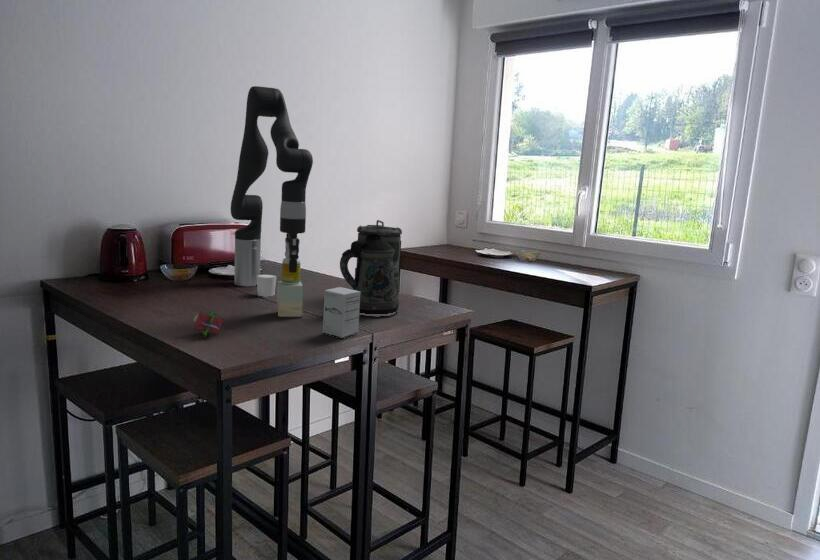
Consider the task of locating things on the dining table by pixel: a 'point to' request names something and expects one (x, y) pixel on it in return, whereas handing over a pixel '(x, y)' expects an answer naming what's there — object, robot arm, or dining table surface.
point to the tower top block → (289, 292)
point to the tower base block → (289, 308)
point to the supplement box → (341, 311)
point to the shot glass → (266, 285)
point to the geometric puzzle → (208, 323)
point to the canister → (391, 238)
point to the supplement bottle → (286, 275)
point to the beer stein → (372, 274)
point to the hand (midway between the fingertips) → (291, 269)
